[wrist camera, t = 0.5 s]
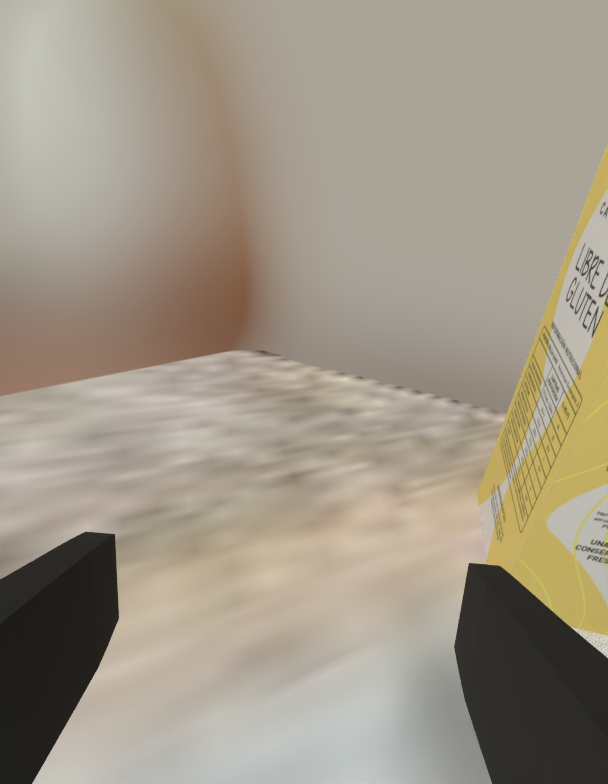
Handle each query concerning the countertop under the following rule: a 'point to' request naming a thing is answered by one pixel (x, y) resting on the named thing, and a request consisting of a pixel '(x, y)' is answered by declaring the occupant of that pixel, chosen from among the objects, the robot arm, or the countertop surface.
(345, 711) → the countertop surface
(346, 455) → the countertop surface
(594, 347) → the pasta box
